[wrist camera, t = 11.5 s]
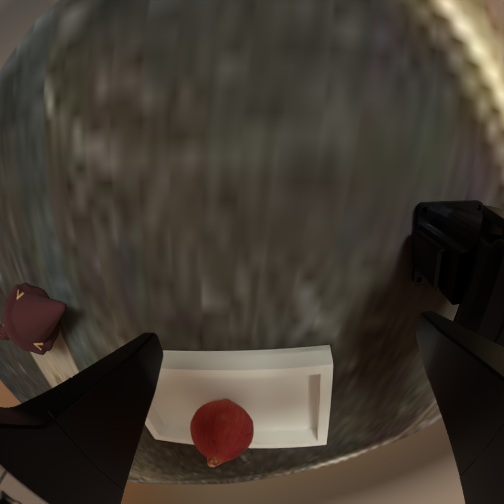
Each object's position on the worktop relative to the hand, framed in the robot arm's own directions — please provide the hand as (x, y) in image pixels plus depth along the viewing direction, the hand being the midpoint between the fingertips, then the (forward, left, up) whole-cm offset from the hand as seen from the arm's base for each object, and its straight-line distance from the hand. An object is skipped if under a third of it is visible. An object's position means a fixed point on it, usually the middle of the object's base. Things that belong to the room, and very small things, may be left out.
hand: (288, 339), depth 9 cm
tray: (+7, +17, -12) cm, 22 cm away
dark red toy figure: (+25, +5, -12) cm, 29 cm away
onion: (+7, +17, -12) cm, 22 cm away
